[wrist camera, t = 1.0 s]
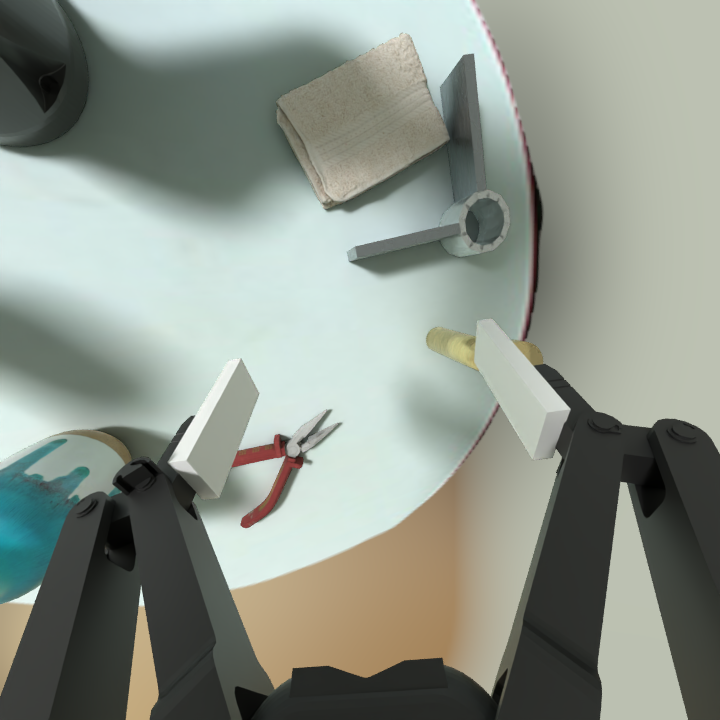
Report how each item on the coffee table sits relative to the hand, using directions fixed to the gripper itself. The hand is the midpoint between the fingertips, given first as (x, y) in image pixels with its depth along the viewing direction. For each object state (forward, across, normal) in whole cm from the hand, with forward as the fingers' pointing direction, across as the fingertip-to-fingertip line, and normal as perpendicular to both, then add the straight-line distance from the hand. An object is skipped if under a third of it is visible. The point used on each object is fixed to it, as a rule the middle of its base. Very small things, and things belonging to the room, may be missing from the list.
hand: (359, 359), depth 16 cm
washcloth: (+31, +3, +11) cm, 33 cm away
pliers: (+12, -16, -26) cm, 33 cm away
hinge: (+29, +8, +5) cm, 30 cm away
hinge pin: (+23, +10, -15) cm, 29 cm away
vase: (+10, -36, -16) cm, 40 cm away
